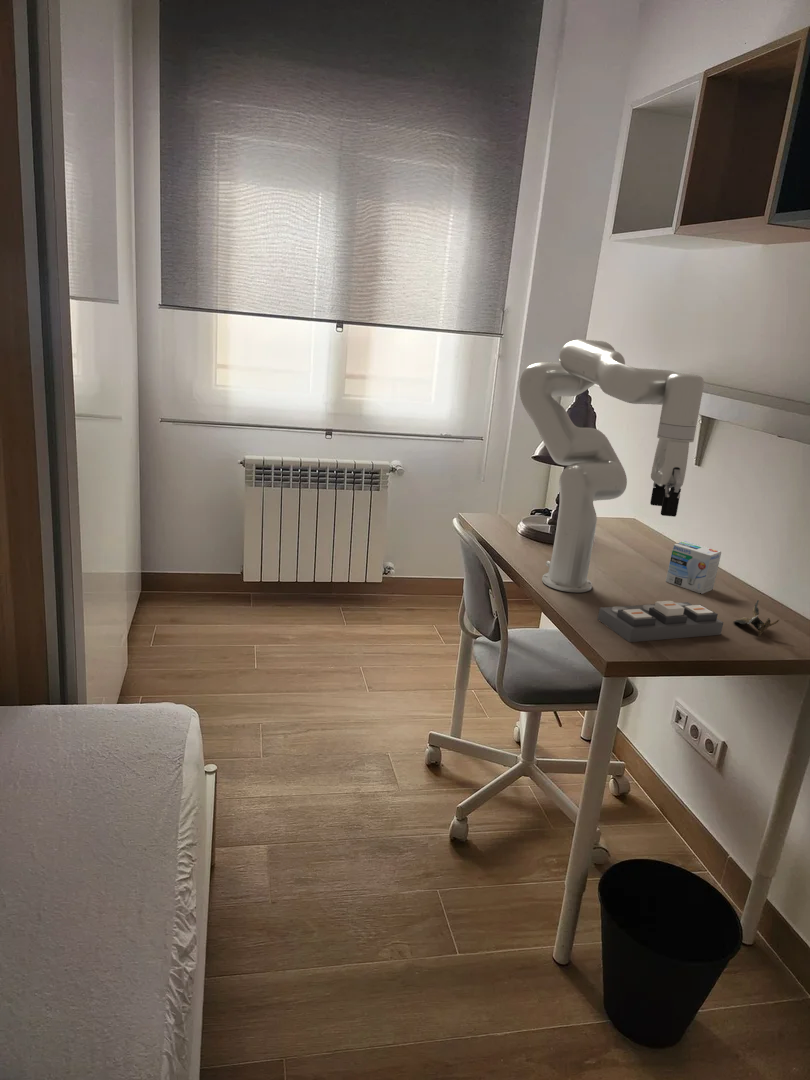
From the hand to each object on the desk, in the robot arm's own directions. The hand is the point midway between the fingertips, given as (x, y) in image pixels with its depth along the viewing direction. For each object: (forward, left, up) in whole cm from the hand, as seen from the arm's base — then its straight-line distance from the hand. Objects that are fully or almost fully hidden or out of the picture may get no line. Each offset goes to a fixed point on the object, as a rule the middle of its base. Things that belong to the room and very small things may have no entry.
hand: (662, 510), depth 170 cm
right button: (+5, +11, -24) cm, 27 cm away
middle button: (+5, +3, -22) cm, 23 cm away
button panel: (+3, +3, -27) cm, 27 cm away
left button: (+5, -6, -24) cm, 25 cm away
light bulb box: (-20, +31, -27) cm, 45 cm away
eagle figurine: (+8, +26, -27) cm, 38 cm away
